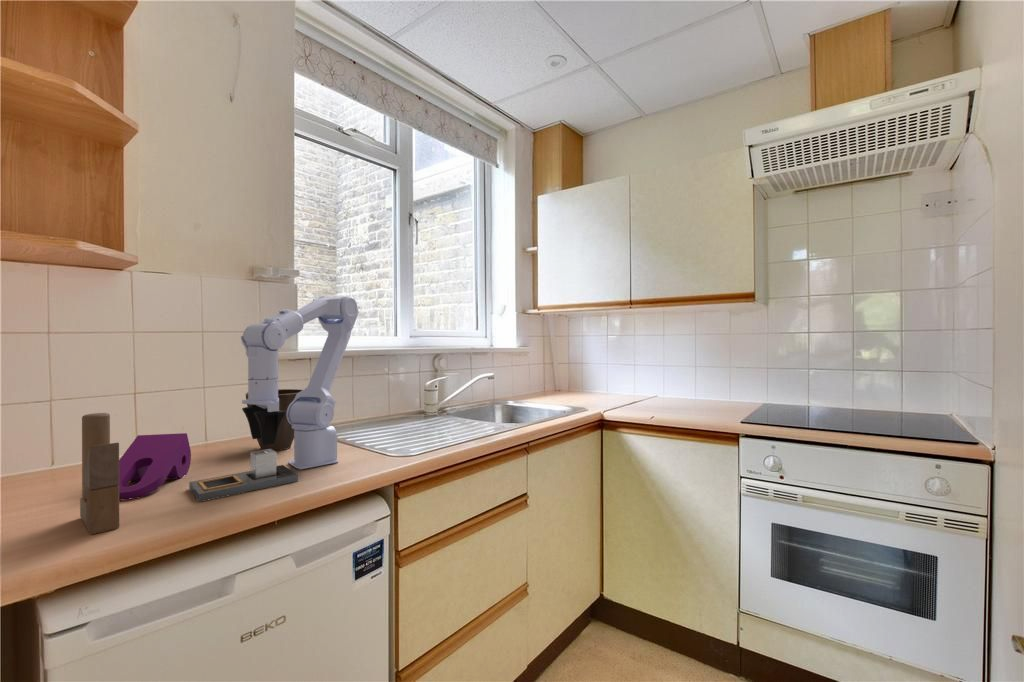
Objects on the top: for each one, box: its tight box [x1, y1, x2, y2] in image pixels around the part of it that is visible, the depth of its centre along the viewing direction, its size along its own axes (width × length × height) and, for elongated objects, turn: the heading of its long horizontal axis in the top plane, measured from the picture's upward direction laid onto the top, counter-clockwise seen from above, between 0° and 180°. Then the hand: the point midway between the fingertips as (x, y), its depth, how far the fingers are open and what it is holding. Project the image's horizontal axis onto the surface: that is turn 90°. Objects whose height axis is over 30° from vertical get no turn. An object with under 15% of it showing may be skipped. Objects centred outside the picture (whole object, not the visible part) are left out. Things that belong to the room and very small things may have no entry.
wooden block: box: [79, 412, 120, 535], centre depth 76 cm, size 4×11×18 cm, turn 50°
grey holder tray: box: [188, 464, 299, 502], centre depth 96 cm, size 18×10×2 cm, turn 134°
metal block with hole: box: [250, 449, 277, 480], centre depth 98 cm, size 4×4×7 cm
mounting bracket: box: [119, 432, 192, 500], centre depth 96 cm, size 9×8×18 cm
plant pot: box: [245, 388, 303, 452], centre depth 128 cm, size 15×15×16 cm
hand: (263, 441), depth 98 cm, fingers open, 7 cm apart
